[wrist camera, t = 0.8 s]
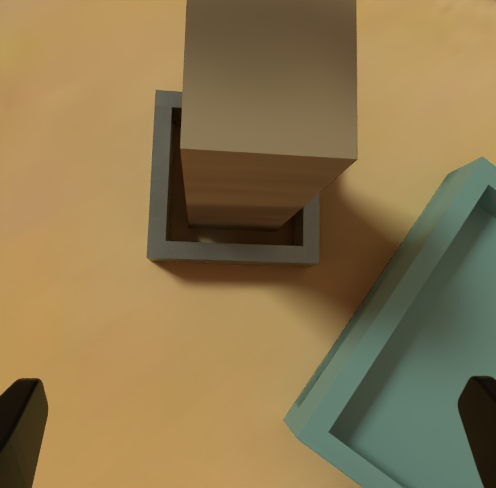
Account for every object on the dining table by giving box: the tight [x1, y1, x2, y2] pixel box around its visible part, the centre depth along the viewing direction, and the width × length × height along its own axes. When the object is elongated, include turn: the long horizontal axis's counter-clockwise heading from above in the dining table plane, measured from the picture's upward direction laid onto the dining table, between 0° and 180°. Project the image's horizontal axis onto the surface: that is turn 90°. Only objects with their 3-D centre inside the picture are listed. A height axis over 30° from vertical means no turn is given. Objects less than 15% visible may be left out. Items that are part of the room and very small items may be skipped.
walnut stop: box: [180, 0, 358, 231], centre depth 17 cm, size 4×4×12 cm
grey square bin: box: [147, 90, 320, 267], centre depth 22 cm, size 8×8×2 cm
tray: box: [283, 157, 496, 488], centre depth 22 cm, size 16×14×3 cm
